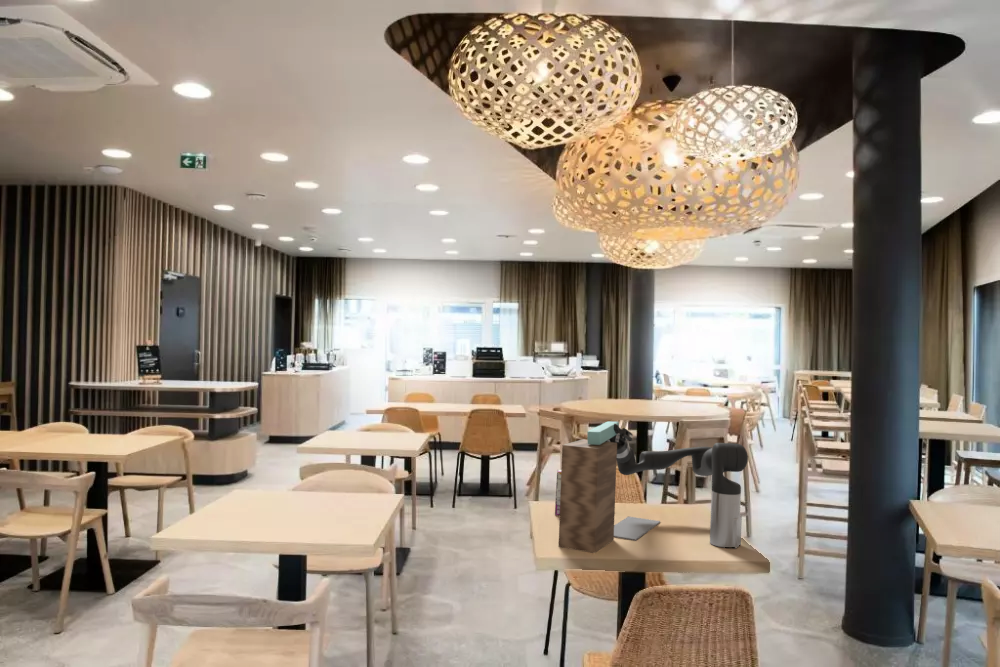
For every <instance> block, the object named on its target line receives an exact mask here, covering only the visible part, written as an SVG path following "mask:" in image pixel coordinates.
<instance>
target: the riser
mask: <svg viewBox="0 0 1000 667" xmlns="http://www.w3.org/2000/svg"><path fill="white" fill-rule="evenodd" d="M561 448H562V449H561V469H560V470H561V495H560V515H559V524H558V525H559V527H558V547H560V548H566V549H571V550H575V551H582V552H586V553H587V552H588V553H596V552H598V551H599V550H601V549H602V548H604V547H606V546H607V545H608V544H610V543H611V542H612V541H614V538H615V537H614V525H615V515H616V514H615V509H616V507H615V506H616V487H617V486H616V484H617V483H616V482H617V480H616V479H617V443H614V442H604V443H602V444H600V445H595V444H588V439H583V438H582V439H579V440H576V441H572V442H569V443H564V444H562V446H561Z"/></svg>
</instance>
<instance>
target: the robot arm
mask: <svg viewBox="0 0 1000 667" xmlns="http://www.w3.org/2000/svg"><path fill="white" fill-rule="evenodd" d="M603 423H604V422H600V424H599V425H601V424H603ZM614 431H615V433H616V435H615V436H613V437H612V438H610V439H608V440H607V441H605V442H614V443H617V461H616V466H617V470H618V472H619V473H620V474H621V475H623V476H630V475H634V474H636V473H639V472H640V473H641V472H643V471H653V470H654V471H657V470H658V471H659V470H660V471H661V470H665V469H669V468H670V467H672V466H673V465H674V464H675V463H677V462H678V461H680V460H682V459H684V458H686V457H688V456H689V457H691V466H692V467H691V468H692V471H693V473H694V474H695V475H697V476H700V477H709V476H711V496H710V497H711V499H710V522H709V523H710V525H709V526H710V527H709V530H710V531H709V544H711V545H713V546H715V547H719V548H725V547H735V548H734V549H737V548H738V547H740V546H741V544H742V543H741V542H742V522H743V521H742V519H743V518H742V515H741V500H742V497H741V496H742V486H741V484H740V483H738V482H736V481H733V480H731V479H728V478H727V477H726V476H725V475H724V473H728V472H729V473H730V472H735V473H738V472H739V473H740V472H743V471H744V470H745V468H747V465H748V462H749V455H748V451H747V450H746V448H745V446H743V444H739V443H732V442H731V443H730V442H728V443H727V442H715V443H714V444H713V446H696V447H694V446H693V447H685V448H677V449H671V450H654V451H653V450H652V451H649V450H645V451H642V452H641V453H640V454H639V462H637V460H636V455H635V451H634V449H633V448H632V447H631V446H630V444H629V442H632V441H633V436H634V434H633V433H632V432H631V431H629V430H628V429H627V428H626V427H623V428H621V427H620V425H619V426H618V425H617V424H614ZM739 545H740V546H739ZM736 547H737V548H736Z"/></svg>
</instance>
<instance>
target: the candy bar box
mask: <svg viewBox="0 0 1000 667" xmlns="http://www.w3.org/2000/svg"><path fill="white" fill-rule="evenodd" d="M555 485H556V487H555V506H554V515H555V516H560V495H561V469H557V470H556V484H555Z"/></svg>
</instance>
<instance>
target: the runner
mask: <svg viewBox="0 0 1000 667" xmlns="http://www.w3.org/2000/svg"><path fill="white" fill-rule="evenodd" d="M660 523H661V521H660V520H655V519H649V518H641V517H635V516H627V517H625V518H623V519H622V520H620V521H619V522H617V523H615V524H614V538H617V539H623V540H629V541H634V542H637V541H638V540H639V539H640V538H641V537H643V536H644V535H645V534H647V533H648V532H649V531H651V530H652V529H654V528H655V527H657V526H658V525H659V524H660Z"/></svg>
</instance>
